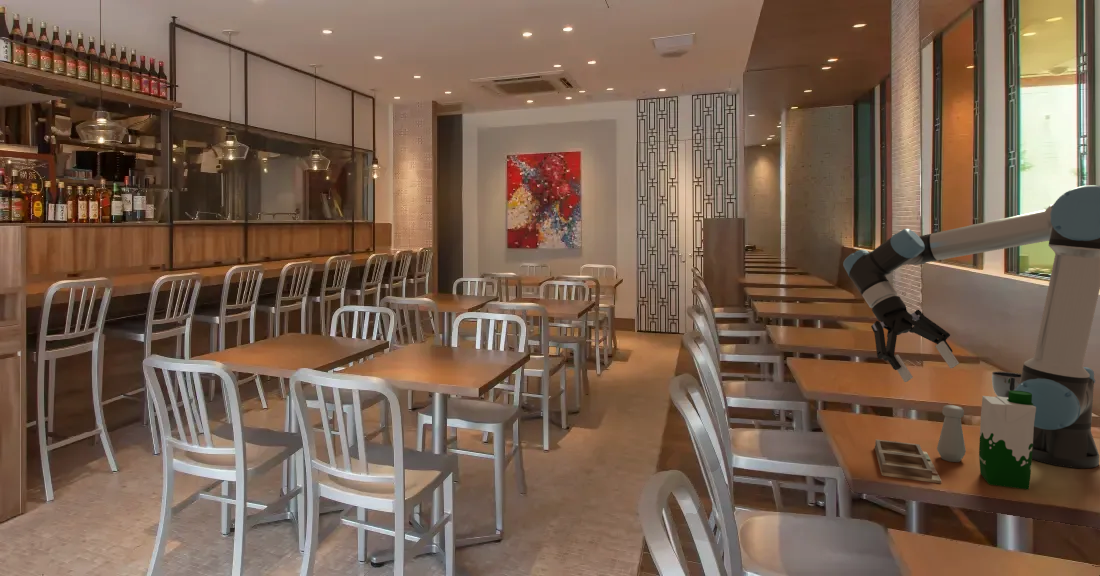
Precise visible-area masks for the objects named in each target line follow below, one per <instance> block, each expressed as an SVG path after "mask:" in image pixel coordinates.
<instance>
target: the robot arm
mask: <svg viewBox="0 0 1100 576" xmlns="http://www.w3.org/2000/svg"><path fill="white" fill-rule="evenodd" d="M1044 242H1048V247H1049V248H1050V249H1051V250H1052V251H1053V252H1054V254H1055V255H1054V259H1053V263H1052V270H1051V273H1050V278H1049V282H1048V287H1047V291H1046V296H1045V297H1046V298H1045V302H1044V306H1043V311H1042V315H1041V316H1042V317H1041V321H1040V325H1039V330H1038V334H1037V340H1036V344H1035V350H1034V354H1033V357H1031V358H1029V359H1027V360H1025V361H1024V362H1023V367H1022V371H1021V373H1020V374H1021V379H1020V384H1019V385H1018V386H1017V387H1016V388H1015V390H1016V391H1025V392H1029V393H1032V403H1033V405H1034V406H1035V407H1036V413H1035V420H1034V432H1033V449H1032V460H1033V461H1037V462H1041V463H1046V464H1049V465H1052V466H1053V465H1054V466H1059V467H1067V468H1074V469H1075V468H1077V469H1092V468H1096V467H1099V463H1100V453H1099V451H1098V448H1097V446H1096V442H1095V439H1094V437H1093V433H1092V421H1093V419H1092V418H1093V403H1094V402H1093V401H1094V390H1095V389H1094V388H1095V387H1094V386H1095V384H1096V379H1095V372H1094V370H1093V369H1092V368H1090V367H1085V366H1084V361H1085V356H1086V353H1087V348H1088V342H1089V340H1090V339H1089V338H1090V334H1091V329H1092V325H1093V321H1094V316H1095V312H1096V308H1097V302H1098V299H1099V295H1100V294H1099V293H1100V185H1096V184H1092V185H1091V184H1089V185H1081V186H1077V187H1075V188H1072V189H1070V190H1068V191H1065V192H1064V193H1063V194H1062V195H1060V196H1059V197H1058V198H1057V200H1056V201H1054V203H1051V204H1050V205H1049V206H1048V207H1047V208H1046V209H1042V210H1037V211H1033V212H1029V213H1023V214H1020V215H1019V214H1018V215H1014V216H1009V217H1005V218H1000V219H999V218H998V219H994V220H990V221H986V222H981V223H976V224H971V225H967V226H962V227H957V228H953V229H947V230H942V231H938V232H933V233H929V234H928V233H927V234H923V235H918V234H917V233H916V232H915V231H914V230H912V229H910V228H903V229H901V230H900V231H899V232H897V233H894V234H892V236H891V237H890V238H888V239H887V240H885V241H884V242H883V243H881V244H880V245H879V246H877V247H876V248H874V249H873V250H872V251H868V250H866V249H860V250H856V251H855V252H854V253H853V252H852V253H850V254H849V255H848V256H846V258H845V259H844V261H843V262H842V264H843V268H844V270H845V271H846V273H847V275H848V277H849V278H850V280H851V282H853V284H854V286H855V287H856V288H857V290H858V292H859V293H860V295H861V296H862V297H863V299H864V301H865V302H866V304H867V305H868V307H869V308H871V311H872V313H873V315H874V316H875V318H876V321H875V322H874V323H873V324H872V325H871V329H872V331H873V332H872V333H874V341H875V349H876V357H877V359H879V360H882V359H883V361H885V362H886V361H888V363H889V365H890V366H891V368H892V369H893V370H894V371H897V372H898V374H899V376H900V378H901V379H902V380H903V382H904V383H907V382H909V381H910V380H911V379H913V378H914V376H913V375H912V374H911V372H910V370H909V368H908V367H907V365H906V364H905V363H904V361H903V359H902V358H901V357H900V355H899V354H895V352H896V345H897V340H898V339H897V338H898V336H899V335H900V336H901V334H907V333H911V334H913V333H914V334H916V335H918V336H920V337H922V338H924V339H926V340H928V341H930V342H932V343H935V344H936V345H935V349H936V350H937V351H938V353H939V354H940V356H941V357H942V358H943V360H944V361H945V363H946V364H947V366H948V367H949V369H953V368H954V367H956V366H957V365H959V364H960V362H959V361H958V359H957V358H956V357H955V355H954V353H953V349H952V347H951V346H950V344H949V343H948V342H947V340H948V339H949V338H950V337H951V334H950V333H949V332H948V331H946V330H945V329H944V328H943V327H941V326H939V324H936V323H935V322H934V321H932V320H931V319H930V318H929V317H927V316H925V314H924V313H923V312H922V311H921V310H920V309H916V310H915V311H914V312H911V313H910V312H909V311H908V310H907V306H906V304H905V303H904V301H903V300H902V298H901V296H899V295H898V292H897V291H896V289H895V288H894V287H893V285H892V284H891V282H890V281H889V279H888V278H887V276H888V275H890V274H892V273H893V272H895V271H896V270H897V269H899V268H902V266H906V265H908V266H910V265H914V266H919V265H924V264H926V263H930V262H931V263H933V262H936V261H942V260H946V259H952V258H957V257H958V258H960V257H964V256H969V255H974V254H981V253H987V252H992V251H997V250H998V251H999V250H1003V249H1009V248H1016V247H1020V246H1026V245H1031V244H1037V243H1038V244H1039V243H1044ZM884 329H885V330H887V333H886V338H885V331H884ZM886 339H887V340H886Z"/></svg>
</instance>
